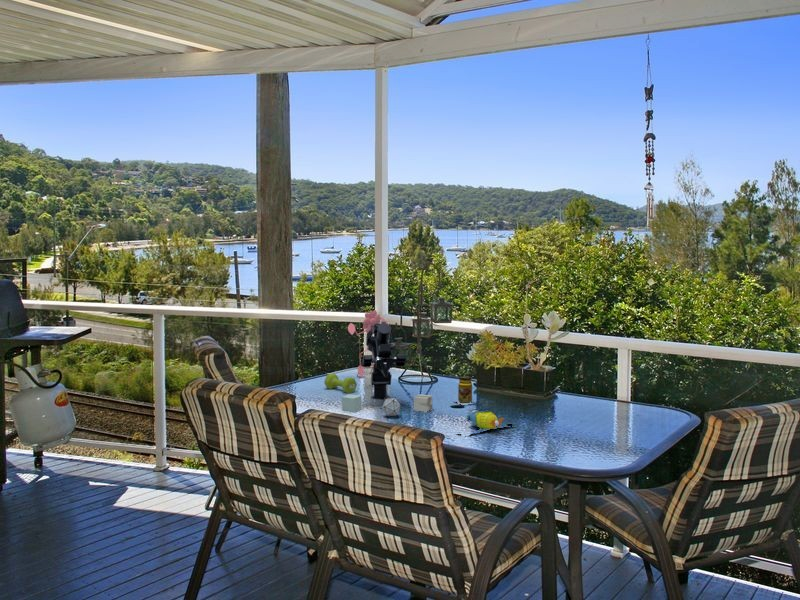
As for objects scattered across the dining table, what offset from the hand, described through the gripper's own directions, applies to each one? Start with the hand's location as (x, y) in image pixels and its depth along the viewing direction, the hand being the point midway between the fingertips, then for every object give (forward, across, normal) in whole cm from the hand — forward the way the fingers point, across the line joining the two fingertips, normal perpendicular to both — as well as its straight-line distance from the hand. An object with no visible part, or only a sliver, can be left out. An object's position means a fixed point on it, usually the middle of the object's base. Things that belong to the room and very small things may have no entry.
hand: (386, 376), depth 323 cm
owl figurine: (+38, +33, -17) cm, 53 cm away
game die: (+20, 0, -1) cm, 20 cm away
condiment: (+7, +36, +13) cm, 39 cm away
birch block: (+14, +15, +6) cm, 21 cm away
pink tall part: (-38, +2, +57) cm, 69 cm away
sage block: (+11, -15, +9) cm, 20 cm away
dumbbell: (-17, -17, +36) cm, 43 cm away
